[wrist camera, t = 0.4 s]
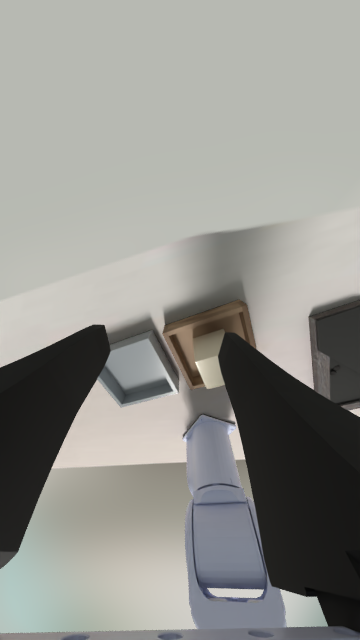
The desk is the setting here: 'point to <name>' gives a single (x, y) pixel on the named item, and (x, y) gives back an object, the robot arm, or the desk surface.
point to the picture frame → (337, 354)
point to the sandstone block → (209, 358)
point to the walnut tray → (185, 330)
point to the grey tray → (138, 371)
